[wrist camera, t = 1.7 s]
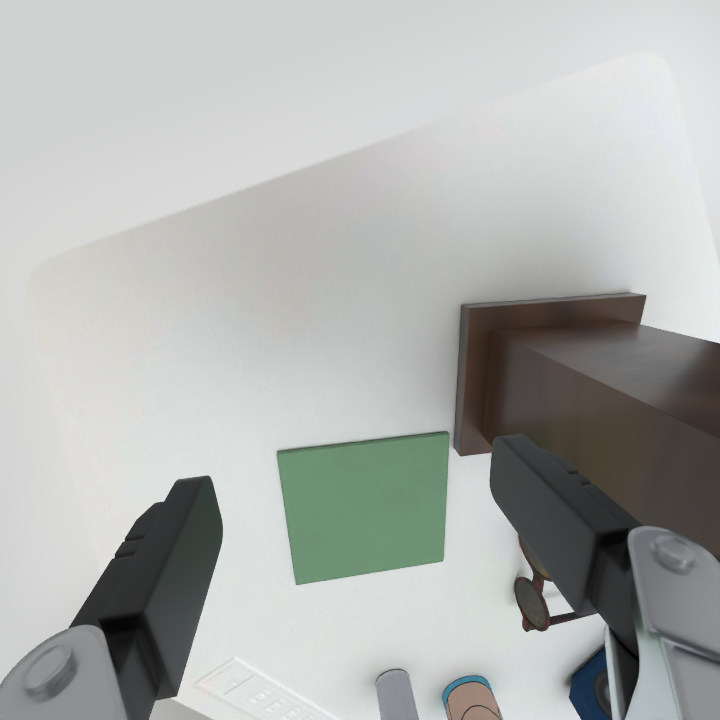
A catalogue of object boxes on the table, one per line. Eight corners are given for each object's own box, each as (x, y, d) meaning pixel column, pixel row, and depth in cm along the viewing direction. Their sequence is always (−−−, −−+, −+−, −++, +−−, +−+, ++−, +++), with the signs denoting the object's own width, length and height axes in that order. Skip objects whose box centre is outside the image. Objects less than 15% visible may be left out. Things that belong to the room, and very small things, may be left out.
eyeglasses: (520, 511, 37) (551, 549, 32) (642, 490, 39) (688, 524, 34) (510, 605, 42) (535, 650, 37) (619, 583, 43) (656, 624, 39)
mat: (296, 581, 36) (295, 585, 35) (277, 451, 31) (276, 454, 30) (441, 557, 38) (443, 561, 37) (447, 431, 32) (449, 434, 32)
